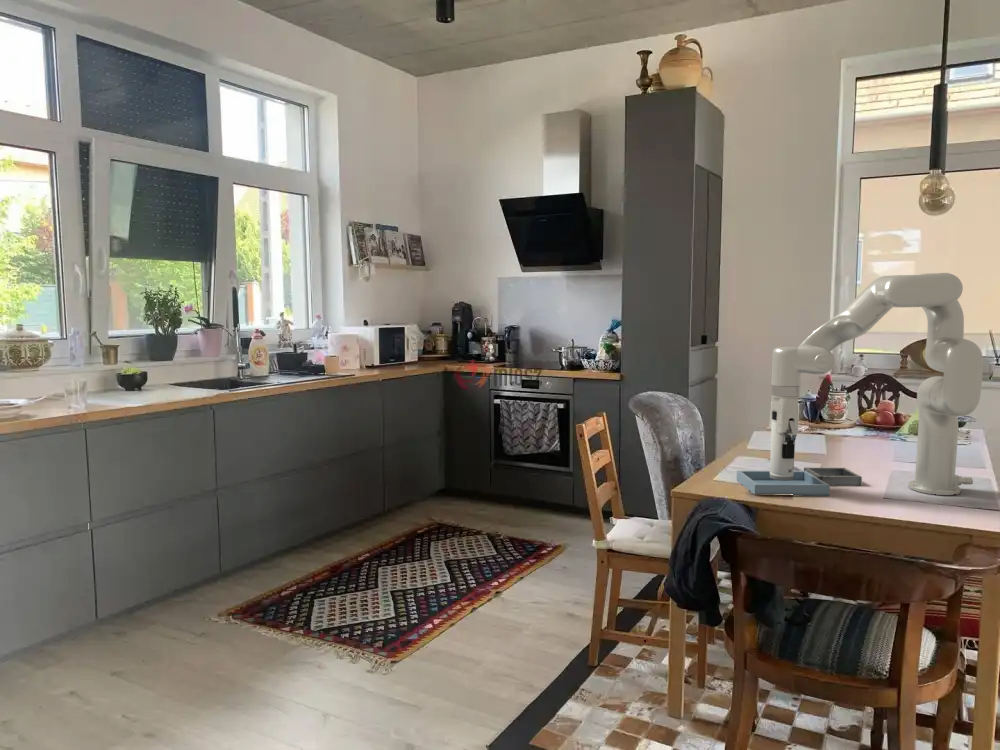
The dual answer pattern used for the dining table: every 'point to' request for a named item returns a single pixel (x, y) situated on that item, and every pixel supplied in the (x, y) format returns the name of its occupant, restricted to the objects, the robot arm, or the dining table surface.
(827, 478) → the small grey square tray
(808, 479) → the tray
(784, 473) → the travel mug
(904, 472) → the dining table surface
